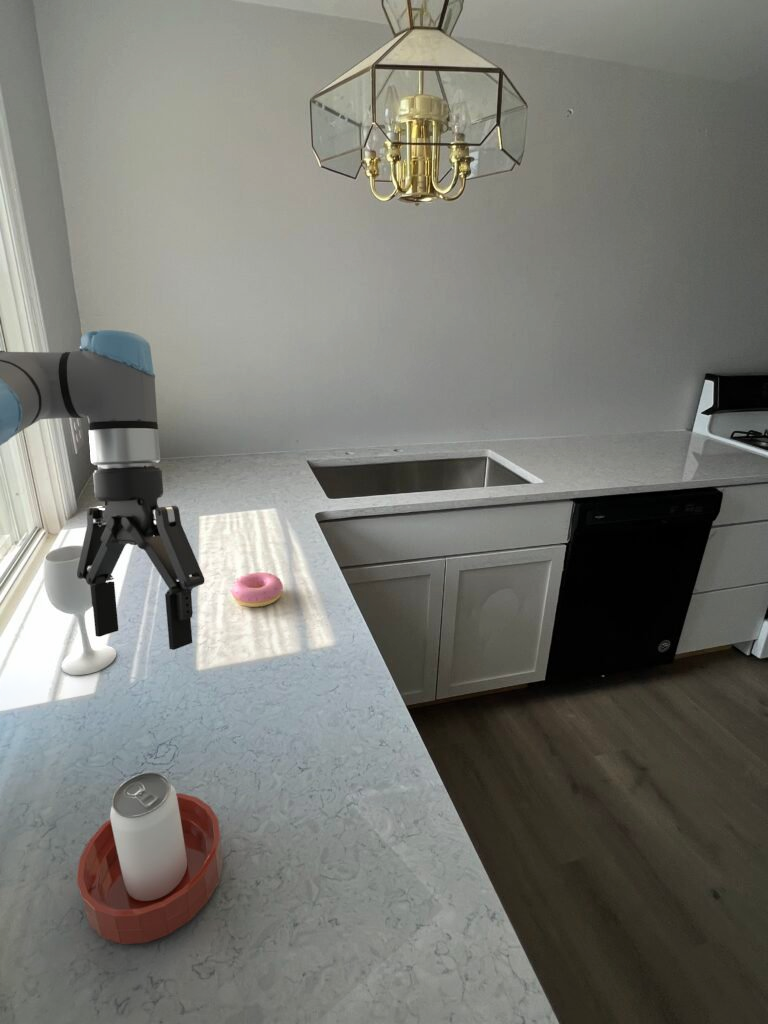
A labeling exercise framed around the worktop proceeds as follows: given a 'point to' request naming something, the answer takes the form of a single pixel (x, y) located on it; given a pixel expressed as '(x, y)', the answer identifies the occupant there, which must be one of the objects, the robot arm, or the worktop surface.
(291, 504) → the worktop surface
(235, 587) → the doughnut
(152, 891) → the can
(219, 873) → the bowl
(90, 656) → the wineglass
